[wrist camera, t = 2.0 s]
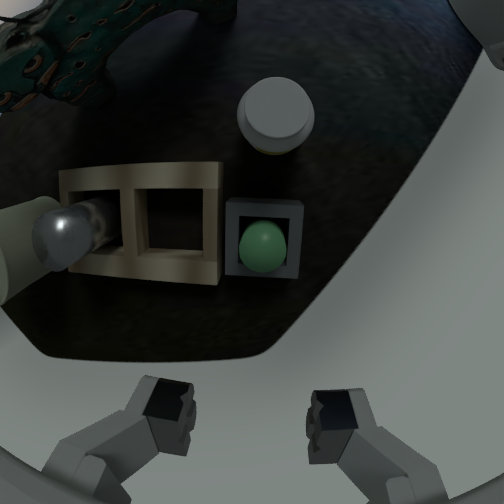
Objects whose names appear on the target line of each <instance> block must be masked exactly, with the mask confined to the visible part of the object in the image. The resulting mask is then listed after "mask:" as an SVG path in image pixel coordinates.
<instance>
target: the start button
mask: <svg viewBox="0 0 504 504" xmlns="http://www.w3.org/2000/svg"><path fill="white" fill-rule="evenodd" d="M239 254H240V258H241V260H242V262H243V263H244V264H245V265H246V266H247V267H248V268H249V269H251V270H253V271H256V272H261V273H264V272H270V271H273V270H275V269H276V268H278V267H279V266H280V265H281V264H282V262H283V261H284V259H285V256H286V243H285V238H284V234H283V231H282V230H281V228H280V227H279V226H278V225H277V224H276V223H274V222H273V221H270V220H266V219H261V220H256V221H254V222H252V223H251V224H249V225H248V226H247V227H246V229H245V231H244V233H243V236H242V239H241V242H240V245H239Z"/></svg>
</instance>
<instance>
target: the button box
mask: <svg viewBox="0 0 504 504" xmlns="http://www.w3.org/2000/svg"><path fill="white" fill-rule="evenodd" d="M303 214H304V205H303V204H302V203H301V202H300V200H285V199H267V198H245V197H231V198H230V199H229V200H228V201H227V202H226V231H225V275H238V276H256V277H275V278H296V279H298V271H299V261H300V250H301V239H302V226H303ZM242 216H255V217H274V218H287V222H286V237H285V243H286V256H285V259H284V261H283V262H282V264H281V265H280V266H279V267H278V268H276V269H275V270H273V271H270V272H264V273H261V272H256V271H253V270H251V269H249V268H248V267H247V266H246V265H245V264H244V263H243V262H242V260H241V258H240V254H239V245H240V242H241V239H242Z"/></svg>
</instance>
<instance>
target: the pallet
mask: <svg viewBox="0 0 504 504" xmlns="http://www.w3.org/2000/svg"><path fill="white" fill-rule="evenodd" d="M223 169H224V162H163V163H139V164H123V165H109V166H97V167H86V168H77V169H69V170H61V171H59V190H60V206H61V208H63V207H66V206H69V205H72V204H75V203H79V202H82V201H84V191H87V190H108V189H120V205H121V223H122V237H123V247H121V246H101V247H100V248H98V249H96V250H95V251H93V252H91V253H90V254H88V255H86V256H85V257H83V258H81V259H80V260H78V261H77V262H75V263H73V264H72V265H70V266H69V267H68V270H69V272H76V273H85V274H94V275H103V276H113V277H123V278H133V279H144V280H156V281H167V282H180V283H193V284H207V285H217V284H218V282H219V279H220V277H221V274H222V214H223ZM147 188H203V251H195V250H177V249H158V248H149V236H148V215H147Z"/></svg>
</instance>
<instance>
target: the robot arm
mask: <svg viewBox="0 0 504 504" xmlns="http://www.w3.org/2000/svg"><path fill="white" fill-rule="evenodd" d="M449 2H450V4H451V6H452V7H453V9H454V11H455V12H456V14H457V15H458V17H459V18H460V20H461V21H462V22H463V24H464V25H465V26H466V27H467V29H468V30H469V31H470V32H471V33H472V34H473V36H474V37H475V38H476V39H477V40H478V41H479V42H480V44H481V45H482V46H483V48H484V50H485V52H486V53H487V55H488V57H489V59H490V61H491V62H492V64H493V65H494V66H495V67H496V68H497V69H500V70H503V71H504V0H449ZM193 395H194V386H193V384H192V383H186V382H181V381H175V380H169V379H164V378H157V377H152V376H147V375H145V376H143V377H142V378H141V380H140V382H139V384H138V385H137V387H136V389H135V391H134V393H133V395H132V397H131V399H130V401H129V402H128V404H127V406H126V408H125V410H124V411H122V410H119V411H117V412H115V413H113V414H111V415H110V416H108V417H106V418H104V419H102V420H100V421H98V422H96V423H94V424H92V425H91V426H88V427H86V428H85V429H82V430H81V431H79V432H76V433H74V434H73V435H70V436H68V437H66V438H64V439H62V440H60V441H59V443H58V444H57V446H56V447H55V449H54V451H53V452H52V454H51V456H50V457H49V459H48V461H47V462H46V464H45V466H44V467H43V469H42V471H41V472H40V471H38V470H36V469H35V468H33V467H31V466H29V465H28V464H26V463H25V462H23V461H22V460H20V459H19V458H17V457H15V456H14V455H12V454H11V453H9V452H8V451H6V450H5V449H4V448H2V447H1V446H0V504H130V503H131V498H130V496H129V495H128V494H127V492H126V491H125V490H124V488H123V487H122V486H121V483H122V482H123V481H125V480H126V479H127V478H129V477H130V476H131V475H133V474H134V473H135V472H136V471H138V470H139V469H140V468H142V467H143V466H144V465H145V464H147V463H148V462H149V461H150V460H151V459H153V458H154V457H155V456H156V455H157V454H159V452H163V453H168V454H174V455H180V456H186V455H187V452H188V448H189V444H190V441H191V439H190V434H189V432H190V431H192V430H193V429H194V425H195V420H196V402H195V401H194V400H193ZM306 436H307V437H308V438H309V439H310V442H309V445H308V456H309V464H333V463H337V465H338V466H339V467H340V468H341V470H343V472H344V473H345V474H346V475H347V476H348V478H349V479H350V480H351V481H352V482H353V483H354V484H355V485H356V486H357V487H358V488H359V489H360V491H361V492H362V493H363V494H364V495H365V496H366V497H367V498H368V499H369V500H370V501H369V502H368V503H367V504H504V473H503V474H501V475H500V476H497V477H496V478H494V479H492V480H490V481H488V482H486V483H484V484H482V485H480V486H478V487H476V488H474V489H472V490H470V491H468V492H466V493H463V494H461V495H459V496H457V497H454V498H452V499H450V500H449V498H448V495H447V492H446V490H445V487H444V485H443V482H442V480H441V477H440V474H439V471H438V469H437V466H436V465H435V464H433V463H432V462H430V461H429V460H427V459H426V458H425V457H423V456H422V455H420V454H419V453H417V452H416V451H415V450H413V449H412V448H410V447H409V446H408V445H406V444H405V443H403V442H402V441H401V440H399V439H398V438H397V437H395V436H394V435H392V434H391V433H390V432H388V431H387V430H386V429H384V428H383V427H377V425H376V422H375V419H374V416H373V413H372V410H371V408H370V405H369V402H368V399H367V397H366V394H365V391H364V390H363V389H362V388H356V389H346V390H345V389H341V390H314V391H313V393H312V396H311V407H310V408H309V409H308V412H307V417H306Z"/></svg>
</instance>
